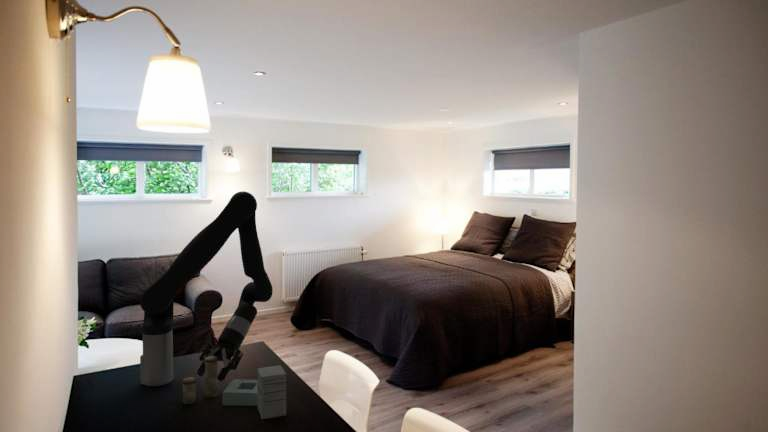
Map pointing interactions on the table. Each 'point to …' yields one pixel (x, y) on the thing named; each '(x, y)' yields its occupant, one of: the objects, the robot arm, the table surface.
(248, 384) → the socket block
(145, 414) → the table surface
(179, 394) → the table surface
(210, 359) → the tall pin
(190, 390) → the short pin
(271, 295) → the robot arm
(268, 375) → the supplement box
